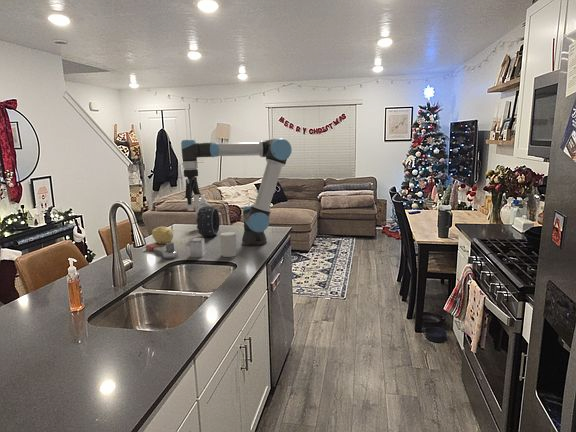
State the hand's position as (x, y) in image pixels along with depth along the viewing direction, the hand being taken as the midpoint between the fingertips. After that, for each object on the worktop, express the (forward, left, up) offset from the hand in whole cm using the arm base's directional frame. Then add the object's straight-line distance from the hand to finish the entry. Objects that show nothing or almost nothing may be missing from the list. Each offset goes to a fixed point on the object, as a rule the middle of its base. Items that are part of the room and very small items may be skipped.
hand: (193, 208), depth 210 cm
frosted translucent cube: (0, 0, -26) cm, 27 cm away
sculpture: (+38, -19, -27) cm, 50 cm away
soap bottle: (+34, -62, -27) cm, 76 cm away
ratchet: (+23, +2, -27) cm, 35 cm away
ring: (+18, -41, -27) cm, 52 cm away
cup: (-17, -5, -27) cm, 32 cm away
